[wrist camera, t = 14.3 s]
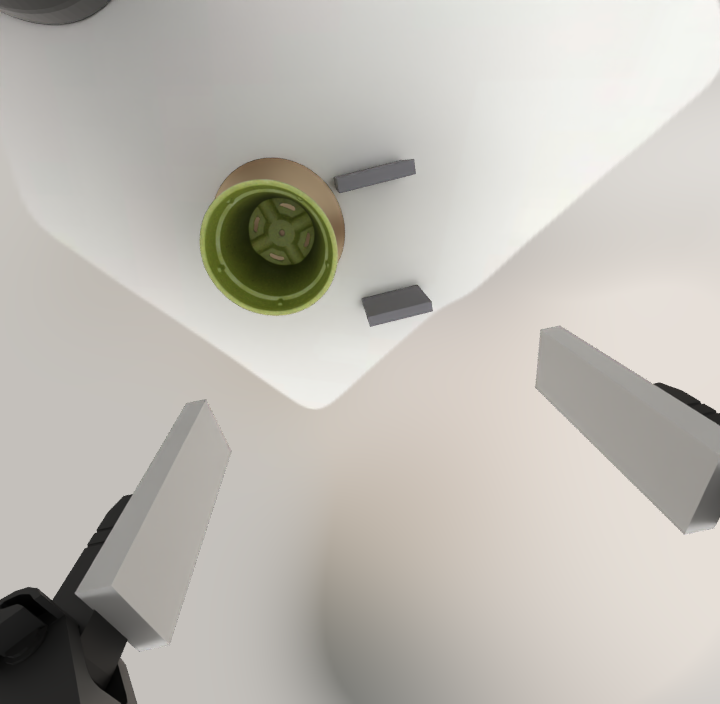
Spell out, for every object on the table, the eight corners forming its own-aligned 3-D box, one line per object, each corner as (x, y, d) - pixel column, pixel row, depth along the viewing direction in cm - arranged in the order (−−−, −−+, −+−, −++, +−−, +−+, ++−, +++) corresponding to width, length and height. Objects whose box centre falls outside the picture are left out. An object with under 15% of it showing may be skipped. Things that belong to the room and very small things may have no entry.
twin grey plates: (333, 177, 30) (336, 178, 25) (399, 160, 30) (414, 159, 25) (363, 307, 36) (370, 326, 31) (418, 293, 36) (432, 311, 31)
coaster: (188, 177, 28) (186, 177, 28) (325, 142, 28) (325, 141, 28) (242, 306, 34) (242, 307, 34) (357, 277, 34) (357, 278, 34)
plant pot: (320, 292, 34) (321, 328, 27) (223, 269, 32) (194, 300, 24) (344, 195, 30) (353, 204, 23) (235, 160, 28) (205, 158, 20)
